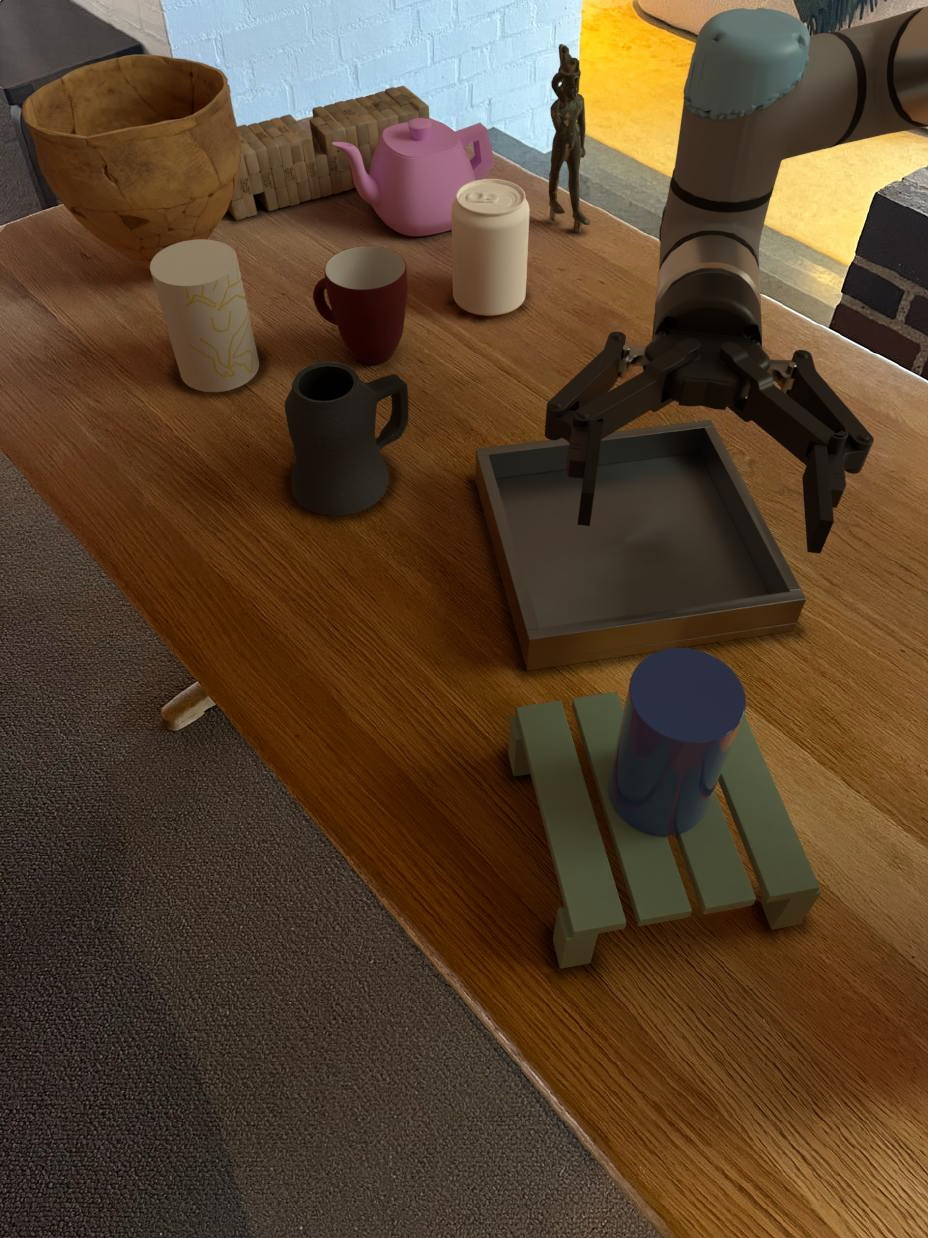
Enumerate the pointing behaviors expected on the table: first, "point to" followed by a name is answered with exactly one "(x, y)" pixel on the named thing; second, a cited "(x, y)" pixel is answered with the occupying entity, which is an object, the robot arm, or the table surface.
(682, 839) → the rack
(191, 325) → the cream marbled cylinder
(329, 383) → the mug
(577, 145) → the statue
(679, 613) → the tray
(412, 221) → the teapot
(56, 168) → the bowl
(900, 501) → the table surface
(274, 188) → the block tower
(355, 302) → the mug
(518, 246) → the beverage can
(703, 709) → the navy blue cylinder
